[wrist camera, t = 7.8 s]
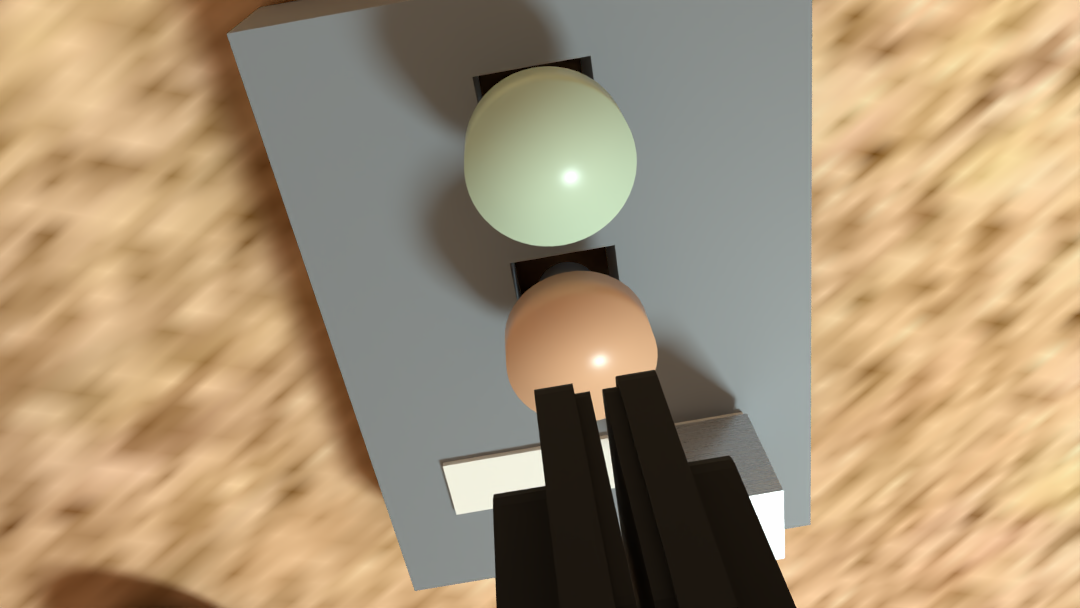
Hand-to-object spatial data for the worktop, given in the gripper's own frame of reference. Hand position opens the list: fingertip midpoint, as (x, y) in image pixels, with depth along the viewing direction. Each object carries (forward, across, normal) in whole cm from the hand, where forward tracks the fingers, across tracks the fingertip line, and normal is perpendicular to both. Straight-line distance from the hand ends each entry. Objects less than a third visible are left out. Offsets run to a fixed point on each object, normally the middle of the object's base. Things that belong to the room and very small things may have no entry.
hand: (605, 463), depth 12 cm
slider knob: (+14, -4, +13) cm, 20 cm away
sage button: (+16, 0, 0) cm, 16 cm away
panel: (+19, 0, +7) cm, 20 cm away
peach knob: (+16, 0, +6) cm, 17 cm away
